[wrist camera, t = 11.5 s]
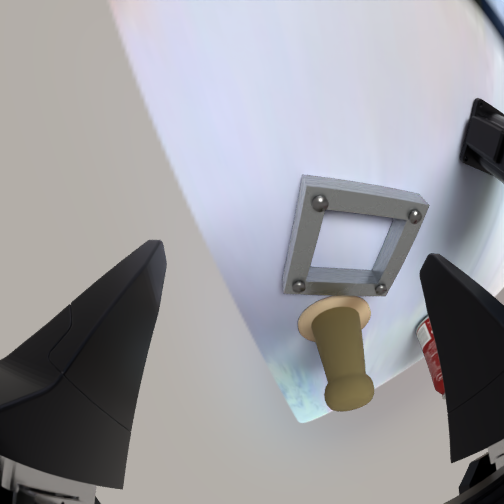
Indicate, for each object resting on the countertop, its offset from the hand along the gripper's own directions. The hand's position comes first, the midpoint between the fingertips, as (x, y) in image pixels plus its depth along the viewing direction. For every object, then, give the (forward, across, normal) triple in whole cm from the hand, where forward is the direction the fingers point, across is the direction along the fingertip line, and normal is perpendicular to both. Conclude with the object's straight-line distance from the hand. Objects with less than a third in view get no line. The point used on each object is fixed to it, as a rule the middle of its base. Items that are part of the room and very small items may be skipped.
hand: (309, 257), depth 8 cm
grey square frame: (+13, -8, +8) cm, 17 cm away
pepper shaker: (+13, -9, +20) cm, 26 cm away
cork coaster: (+13, -9, +20) cm, 26 cm away
